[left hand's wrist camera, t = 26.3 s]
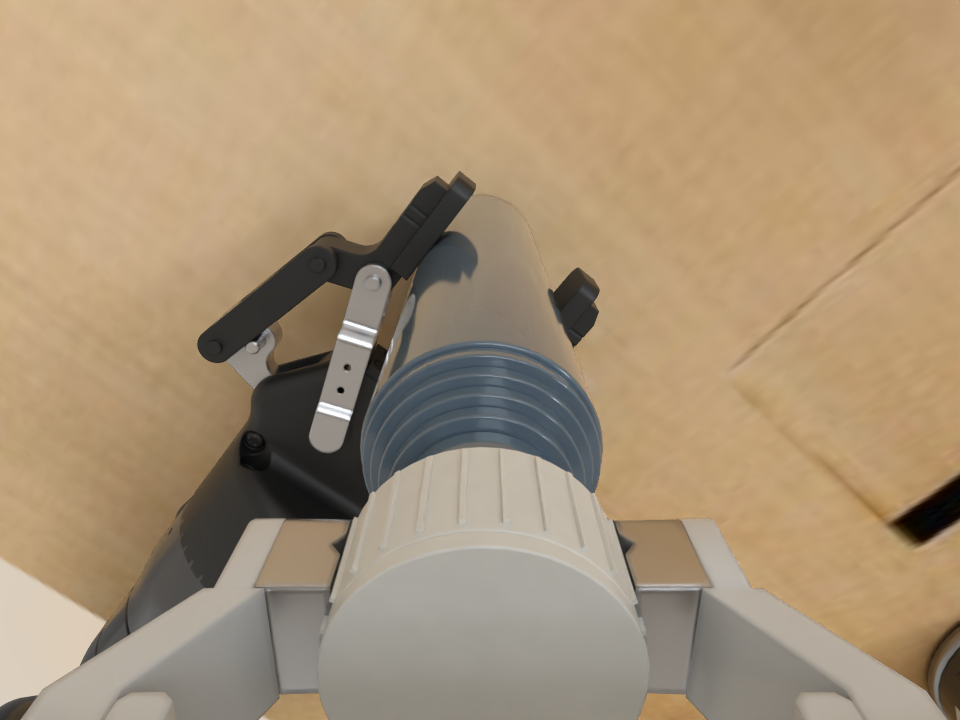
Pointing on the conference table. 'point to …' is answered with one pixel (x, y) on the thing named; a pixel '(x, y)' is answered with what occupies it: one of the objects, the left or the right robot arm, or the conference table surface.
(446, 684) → the cap
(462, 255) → the bottle
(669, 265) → the conference table surface
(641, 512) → the conference table surface
